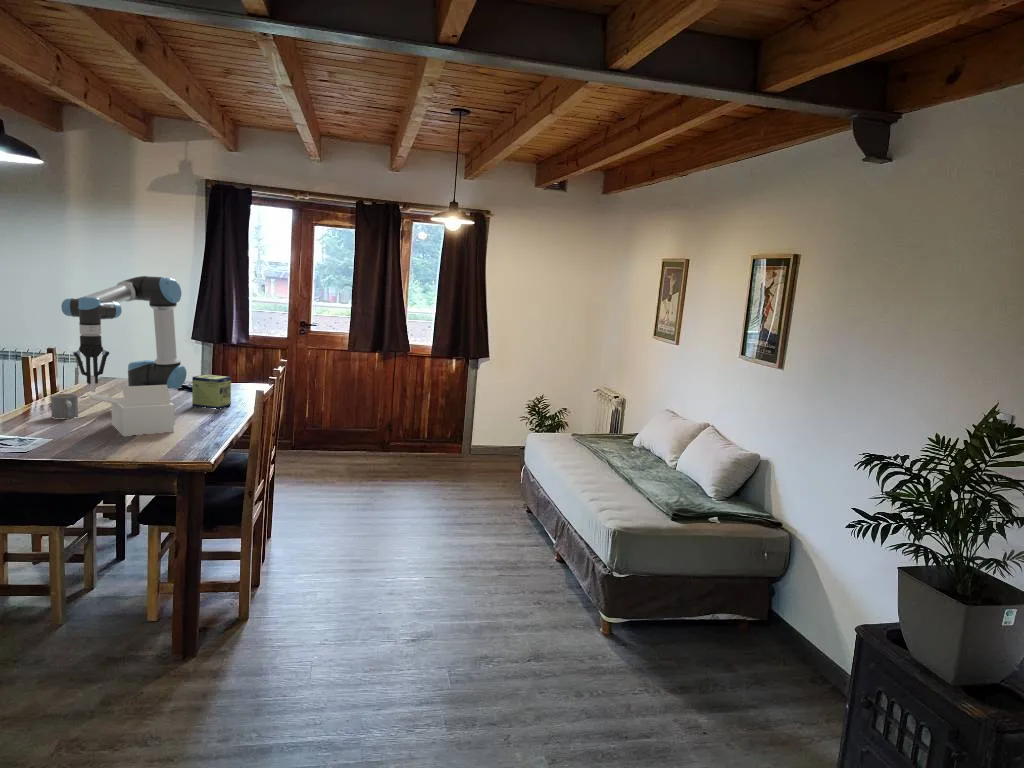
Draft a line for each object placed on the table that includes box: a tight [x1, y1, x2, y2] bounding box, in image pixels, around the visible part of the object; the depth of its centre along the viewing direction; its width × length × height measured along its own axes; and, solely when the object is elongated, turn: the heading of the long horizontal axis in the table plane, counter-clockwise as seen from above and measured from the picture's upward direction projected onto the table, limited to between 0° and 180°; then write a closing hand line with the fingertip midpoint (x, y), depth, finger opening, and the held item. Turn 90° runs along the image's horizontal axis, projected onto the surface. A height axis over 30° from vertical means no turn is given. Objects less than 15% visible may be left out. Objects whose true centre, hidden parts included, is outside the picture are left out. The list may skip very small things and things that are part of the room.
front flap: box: [121, 385, 172, 406], centre depth 287 cm, size 1×17×9 cm
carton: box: [111, 397, 176, 437], centre depth 295 cm, size 24×20×12 cm
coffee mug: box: [50, 393, 79, 419], centre depth 305 cm, size 13×10×10 cm
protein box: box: [191, 374, 232, 410], centre depth 349 cm, size 10×16×16 cm
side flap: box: [86, 393, 118, 404], centre depth 286 cm, size 13×1×9 cm
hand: (92, 391), depth 283 cm, fingers closed
